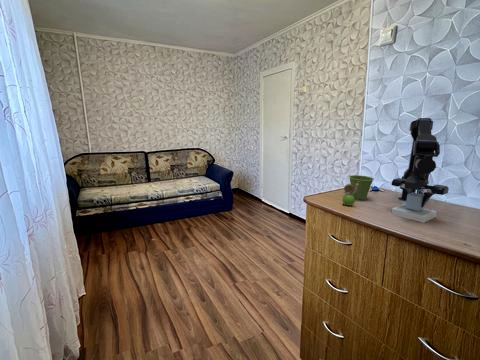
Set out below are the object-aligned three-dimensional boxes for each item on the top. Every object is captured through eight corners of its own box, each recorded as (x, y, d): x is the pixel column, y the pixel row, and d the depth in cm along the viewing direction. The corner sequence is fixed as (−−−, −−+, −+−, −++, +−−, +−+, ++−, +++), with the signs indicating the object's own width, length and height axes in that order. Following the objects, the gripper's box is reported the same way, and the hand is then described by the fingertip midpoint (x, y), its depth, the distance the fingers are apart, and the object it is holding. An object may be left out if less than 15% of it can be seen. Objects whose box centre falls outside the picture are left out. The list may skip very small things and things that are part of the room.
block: (410, 205, 107) (412, 192, 106) (423, 208, 103) (426, 195, 102) (405, 207, 105) (407, 194, 103) (418, 211, 100) (421, 197, 99)
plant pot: (344, 199, 127) (347, 178, 124) (348, 194, 137) (350, 174, 134) (370, 203, 121) (373, 181, 118) (372, 197, 130) (374, 176, 128)
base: (404, 208, 113) (405, 203, 112) (435, 216, 103) (436, 211, 102) (391, 213, 106) (392, 208, 106) (423, 222, 96) (424, 216, 96)
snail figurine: (357, 207, 114) (360, 182, 111) (343, 206, 115) (345, 181, 113) (354, 203, 119) (357, 180, 117) (340, 203, 120) (343, 179, 118)
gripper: (387, 167, 103) (382, 202, 107) (441, 175, 88) (433, 215, 92) (400, 165, 109) (394, 198, 113) (452, 172, 94) (444, 210, 98)
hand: (414, 205), depth 104 cm, fingers closed on block, 5 cm apart
